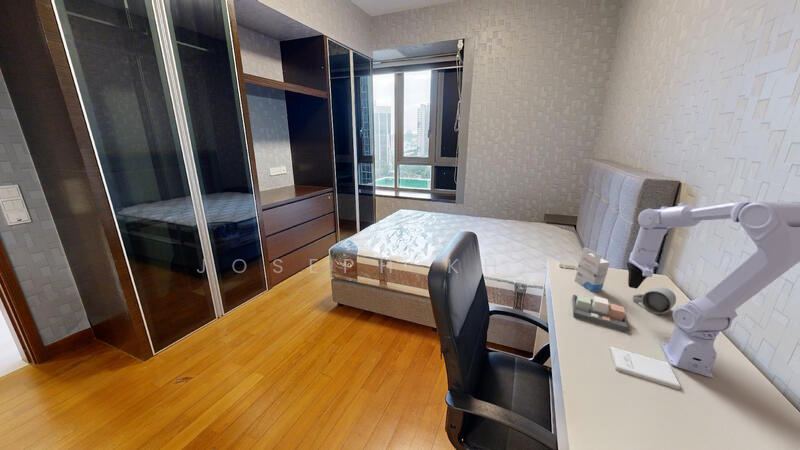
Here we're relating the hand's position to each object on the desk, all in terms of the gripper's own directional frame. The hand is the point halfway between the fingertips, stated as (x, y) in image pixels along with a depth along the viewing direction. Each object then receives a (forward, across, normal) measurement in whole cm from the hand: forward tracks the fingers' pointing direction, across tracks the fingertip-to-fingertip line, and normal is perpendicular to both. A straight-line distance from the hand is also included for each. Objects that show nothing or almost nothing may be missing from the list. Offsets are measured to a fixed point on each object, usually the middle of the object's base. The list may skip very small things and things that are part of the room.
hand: (632, 287), depth 92 cm
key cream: (+8, -5, +8) cm, 12 cm away
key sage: (+9, -4, +13) cm, 16 cm away
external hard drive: (+11, -26, +2) cm, 28 cm away
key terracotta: (+9, -5, +4) cm, 11 cm away
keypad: (+10, -5, +8) cm, 14 cm away
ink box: (+10, +16, +8) cm, 20 cm away
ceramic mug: (+10, +9, -10) cm, 17 cm away
